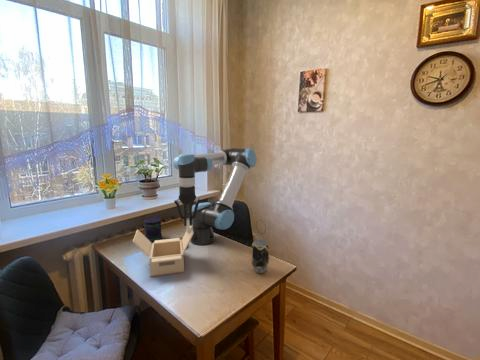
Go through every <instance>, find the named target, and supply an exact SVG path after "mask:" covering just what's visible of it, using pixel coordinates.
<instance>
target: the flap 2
mask: <svg viewBox="0 0 480 360" xmlns="http://www.w3.org/2000/svg"><path fill="white" fill-rule="evenodd" d="M193 234H194V232H193V225H191V226H190V233H187V230H185V232H184V235H183V239H182V244H183V253H185V251H186V250H187V249H188V245H189V244H190V243H191V242H190V240H191V238H192V236H193Z"/></svg>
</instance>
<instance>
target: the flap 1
mask: <svg viewBox="0 0 480 360" xmlns="http://www.w3.org/2000/svg"><path fill="white" fill-rule="evenodd" d="M132 243H133V244H134V245H135V246H137V248H138V249H140V251H142V252H143V254H145V255H146V256H147V257H150V253H151V247H152V244H151V242H150V241H149V240H148V239H147V238H146V237H145V234H143V233H142V232H141V231H140V230H139V229H136V232H135V234H134V236H133V239H132Z"/></svg>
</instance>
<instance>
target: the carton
mask: <svg viewBox="0 0 480 360" xmlns="http://www.w3.org/2000/svg"><path fill="white" fill-rule="evenodd" d="M184 261H185V259H184V252H183V248H182V240H180V238H179V237H176V238H175V237H173V238H167V239H166V238H165V239H162V240H155V242H154V243H152V244H151V248H150V254H149V270H150V272H149V273H150V278H153V277H160V276H161V277H162V276H167V275H174V274H181V273H184V272H185V265H184V264H185V263H184Z"/></svg>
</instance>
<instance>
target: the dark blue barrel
mask: <svg viewBox="0 0 480 360" xmlns="http://www.w3.org/2000/svg"><path fill="white" fill-rule="evenodd" d="M143 222H144V223H143V227H144V233H145V234H144V236H145V237H146V238H147V239H148V240H149V241H150V242H151V245H152V243H154V242H155V240H163V235H162V234H163V233H162V219H161V217H158V216H152V217H146V218H144V220H143Z"/></svg>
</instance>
